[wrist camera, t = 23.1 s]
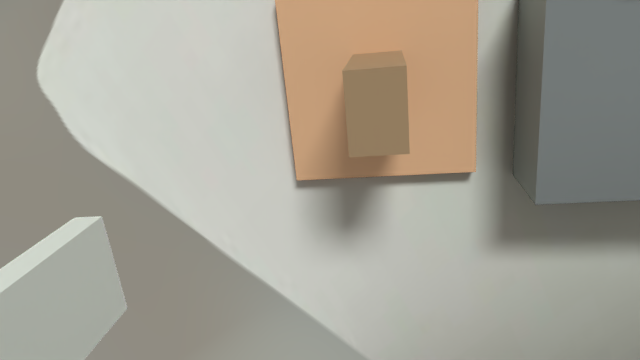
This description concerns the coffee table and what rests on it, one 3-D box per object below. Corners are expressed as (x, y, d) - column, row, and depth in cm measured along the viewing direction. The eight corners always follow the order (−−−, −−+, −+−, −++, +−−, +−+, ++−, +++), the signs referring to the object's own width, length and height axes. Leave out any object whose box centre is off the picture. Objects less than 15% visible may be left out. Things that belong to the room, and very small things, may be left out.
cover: (474, -25, 33) (511, -37, 23) (472, 165, 38) (502, 221, 28) (278, -4, 35) (238, -6, 26) (299, 174, 40) (272, 229, 30)
